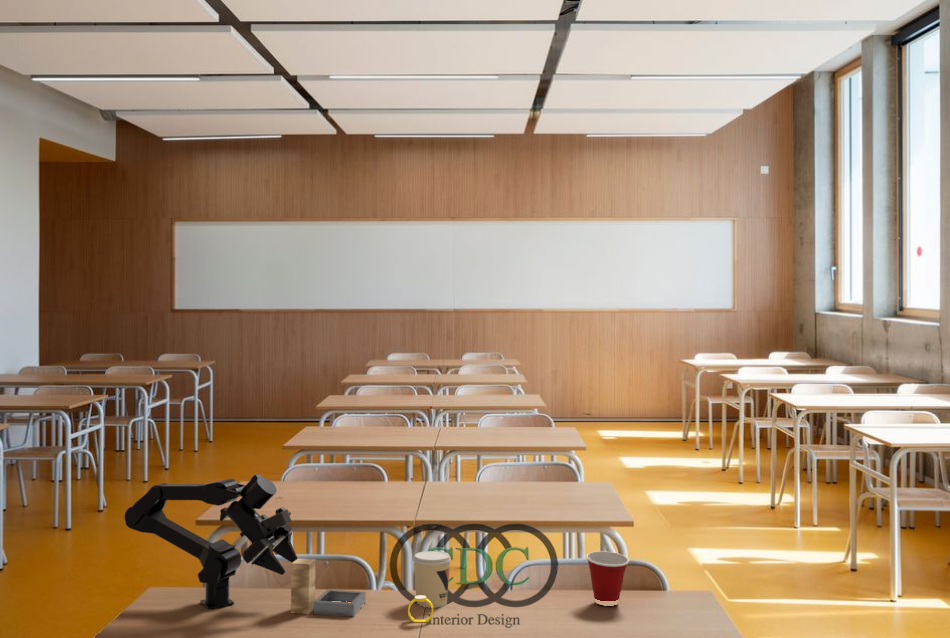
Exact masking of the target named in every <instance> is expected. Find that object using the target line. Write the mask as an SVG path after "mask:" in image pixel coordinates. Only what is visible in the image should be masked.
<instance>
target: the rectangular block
mask: <svg viewBox="0 0 950 638" xmlns="http://www.w3.org/2000/svg"><path fill="white" fill-rule="evenodd" d="M316 560H317V559H315V558H314V559H311V558H298V559H297V560H295V561H294V562H293V563H292V562H290V563H291V567H290V568H291V570H290V571H291V572H290V577H291V578H290V613H291V612H295V613H302V614H301V615H310V614H311V613H312V612H313V611H314V610H313V609H314V601H315V600H316ZM312 610H313V611H312ZM311 611H312V612H311ZM295 613H294V614H295Z"/></svg>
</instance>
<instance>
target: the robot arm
mask: <svg viewBox="0 0 950 638" xmlns="http://www.w3.org/2000/svg"><path fill="white" fill-rule="evenodd" d="M276 494H277V487H276V485H275V484H274V482H273V481H271V480H269V479H268V478H266V477H263V476H262V475H261V474H260V473H256V474H254V475H253V476H252V477H251V478H250V480H249V481H248V482H247V483H246V484H242V483H238V482H237V480H236V479H234V478H227V479H226V478H225V479H221V480H216V481H212V482H207V483H166V482H162V483H158V484H155V485H152V487H150V488H149V490H148V491H147V492H146V493H145V494H144V495H142V497H141V498H139V499H138V500H137V501H136V502H135V503H134V504H133V505H132V506H130V507H128V508H127V509H126V511H125V513H124V522H125V526H126V527H127V528H129V529H130V530H133V531H136V532H139V533H146V534H153V535H155V536H157V537H159V538H161V539H163V540H165V541H166V542H168V543H170V544H171V545H173V546H175V547H176V548H178V549H180V550H182V551H184V552H185V553H187V554H189V555H191V556H193V557H195V558H196V559H197V560H199V562H200V564H201V567H202V569H201V570H200V571H199V572H198V573H197V577H198V581H199V583H202V584H205V590H204V591H205V592H204V593H205V594H204V596H205V598H204V599H201V600H200V604H202V605H203V606H204V607H206V608H207V609H214V608H215V609H216V608H221V607H226V606H231V605H230V604H233V605H235V601H233V600H232V599H230V578H231V577H232V576H235V575H236V572H237V570H238V569H239V567H240V566H241V564H242V559H243V561H244V562H245V563H246V564H250V563H251V565H255V566H258V567H261V568H264V569H267V570H269V571H272V572H273V573H276V574H279V575H281V576H283V575H284V574H285V573H286V570H285V569H284V567H283V566H282V564H281V563H280V561H279V559H278V557H276V555H275V554H274V553H276V554H277V555H279V556H280V557H282V558H284V559H285V560H287V561H288V562H290V563H293V562H294V561H295V560H297V559H299V558H298V556H297V554H296V551H295V549H294V547H293V545H292V542H291V540H292V535H293V532H292V531H293V528H292V527H291V526H290V525H289V524H288V523H291V522H292V519H291V515H292V512H291V511H290V510H288V509H287V508H285V507H284V506H282V507H280V508H276V509H275V514H273V515H271V516H269V517H267V515H266V514H262V515H260V513H258V512H257V511H256V510H260V509H262V508H263V507H264V506H265V505H266V504H267V503H268V502H269V501H270V500H271V499H272V498H273V497H274V496H275V495H276ZM238 498H239V500H237V499H238ZM167 501H200V502H203V503H205V504H209V505H212V506H219V507H220V506H222V505H226V504H228V503H230V504H229V505H228V506H227V507H223V508H221V509H220V510H219V511H220V515H219V521H220V522H223V521H224V520H226V519H228V518H229V519H230V521H232V523H233V524H234V525H235V526H236V527H237V529H239V531H241V532H240V533H239V536H240V537H241V538H244V537H245V538H247V539H248V541H249V542H250V543H251V544H250V545H248V547H246V549H245V550H243V552H242V556H241V552H240V550H238V548H236V547H237V546H236V544H231V543H230V542H228V541H226V540H225V539H223V538H222V539H219V540H217V541H214V542H210V541H208V540H207V539H205V538H203V537H202V536H200V535H197V534H196V533H194V532H192V531H190V530H189V529H187V528H185V527H183V526H181V525H179V524H178V523H176V522H174V521H173V520H171V519H169V518H168V517H166V514H165V512H164V508H165V506H166V503H167Z"/></svg>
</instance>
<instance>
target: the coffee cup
mask: <svg viewBox="0 0 950 638" xmlns="http://www.w3.org/2000/svg"><path fill="white" fill-rule="evenodd" d="M413 565H414V570H413V571H414V585H415V586H414V587H415V596H418V595H424V596H426V598H427V599H428V600H430V601H431V603H432V605H433V609H435V608H442V607H444V606H447V603H448V592H449V581H450V580H449V579H450V566H451V556H450V554H449V553H447V552H444V551H439V550H425V551H419V552H417V553H416V554H414V556H413ZM416 602H417V603H418V604H420V605H422V606H426V607H428V608H427V609H432V608H431V606H430V604H429V603H428V602H426V601H421V602H419V601H415V603H416ZM417 603H416V604H417ZM426 607H425V608H426Z"/></svg>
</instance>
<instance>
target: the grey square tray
mask: <svg viewBox="0 0 950 638" xmlns="http://www.w3.org/2000/svg"><path fill="white" fill-rule="evenodd" d="M366 593H367V592H366V591H358V590H356V591H354V590H343V589H342V590H341V589H340V590H339V589H337V590H336V589H326V590H325V591H324V592H323V593H322V594H321V595H319V596H318V597H317V598H315V601H314V610H313V615H317V616H318V615H319V616H323V615H324V616H334V615H336V616H337V615H338V616H337V617H349V616H354V617H355V616H356V615H357V614H358V613H359V612H358V610H359V609H360V608H361V606H362V605H363V604H364V603H365V601H366V596H367V595H366ZM332 601H341V602H332ZM346 601H347V602H346ZM348 602H351V603H348ZM365 604H366V603H365ZM361 609H362V608H361ZM361 609H360V610H361ZM357 612H358V613H357ZM356 613H357V614H356ZM355 614H356V615H355Z"/></svg>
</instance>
